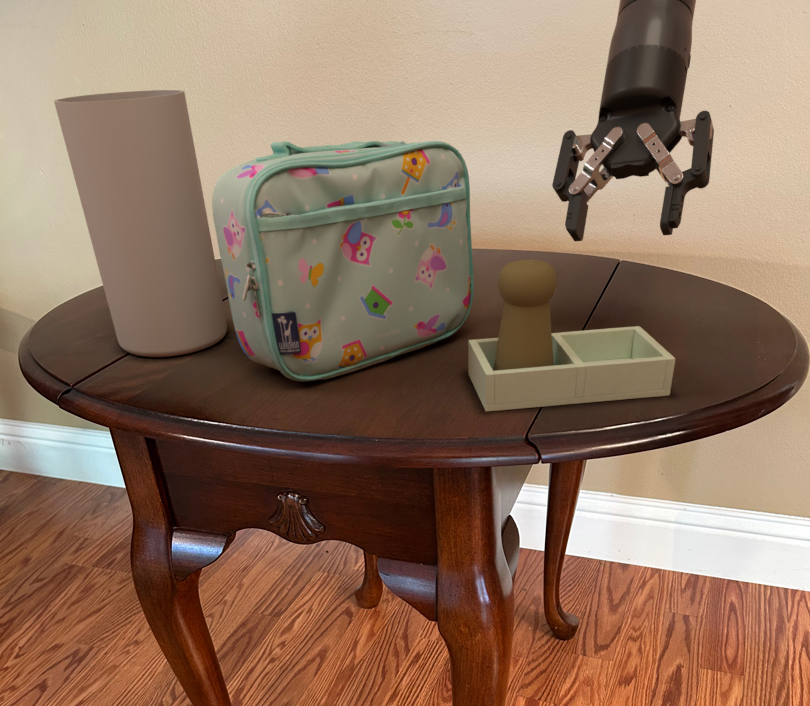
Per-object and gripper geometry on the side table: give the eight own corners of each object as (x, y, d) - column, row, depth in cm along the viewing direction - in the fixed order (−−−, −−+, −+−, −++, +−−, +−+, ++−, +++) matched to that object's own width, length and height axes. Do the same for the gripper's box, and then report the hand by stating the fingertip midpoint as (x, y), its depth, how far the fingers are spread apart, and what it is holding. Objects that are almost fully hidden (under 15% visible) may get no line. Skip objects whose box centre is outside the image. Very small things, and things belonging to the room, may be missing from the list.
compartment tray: (635, 360, 78) (639, 325, 76) (669, 395, 71) (675, 358, 69) (468, 374, 77) (468, 339, 75) (485, 411, 70) (486, 374, 68)
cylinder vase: (199, 362, 83) (145, 99, 69) (98, 357, 86) (26, 104, 72) (245, 324, 93) (205, 88, 79) (153, 321, 96) (99, 92, 82)
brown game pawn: (535, 397, 70) (541, 275, 64) (479, 383, 73) (480, 266, 67) (566, 375, 74) (575, 258, 67) (512, 363, 77) (515, 250, 71)
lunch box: (272, 404, 73) (233, 158, 61) (226, 373, 80) (183, 147, 68) (482, 338, 86) (485, 122, 73) (427, 316, 93) (421, 116, 80)
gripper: (562, 57, 73) (534, 222, 72) (720, 25, 65) (691, 208, 65) (585, 105, 79) (559, 256, 79) (731, 81, 72) (704, 247, 71)
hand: (619, 234), depth 72 cm, fingers open, 8 cm apart
